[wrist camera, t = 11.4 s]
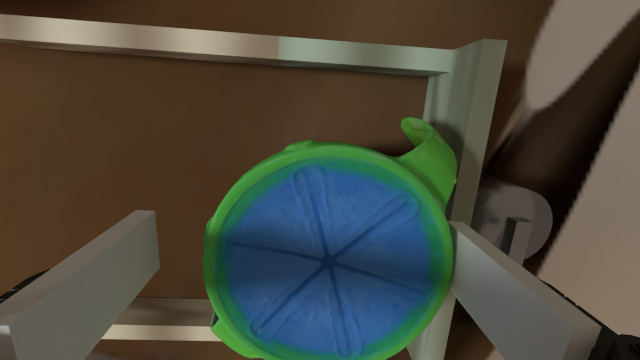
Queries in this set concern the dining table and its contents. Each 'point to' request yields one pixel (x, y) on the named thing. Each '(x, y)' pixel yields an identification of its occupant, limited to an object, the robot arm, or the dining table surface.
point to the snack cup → (332, 250)
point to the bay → (438, 64)
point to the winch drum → (511, 217)
